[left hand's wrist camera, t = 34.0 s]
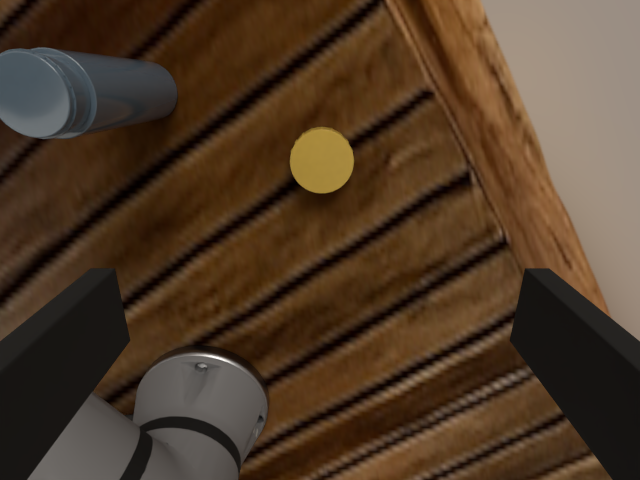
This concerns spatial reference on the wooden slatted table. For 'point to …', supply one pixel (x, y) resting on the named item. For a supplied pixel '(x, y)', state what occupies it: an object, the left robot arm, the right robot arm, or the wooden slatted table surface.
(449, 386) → the wooden slatted table surface
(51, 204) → the wooden slatted table surface
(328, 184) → the lid
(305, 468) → the wooden slatted table surface
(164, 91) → the blue-grey cylinder
